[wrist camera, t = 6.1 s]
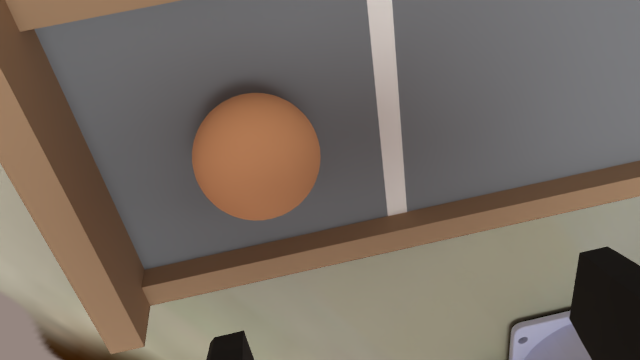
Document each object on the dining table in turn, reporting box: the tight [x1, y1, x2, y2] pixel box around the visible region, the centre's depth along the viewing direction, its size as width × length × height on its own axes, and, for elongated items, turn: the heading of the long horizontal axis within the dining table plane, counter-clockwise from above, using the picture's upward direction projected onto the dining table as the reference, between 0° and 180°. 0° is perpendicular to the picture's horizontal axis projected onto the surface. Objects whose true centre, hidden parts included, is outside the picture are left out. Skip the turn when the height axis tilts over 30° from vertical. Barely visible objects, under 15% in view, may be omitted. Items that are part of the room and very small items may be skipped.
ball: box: [192, 93, 321, 221], centre depth 17 cm, size 4×4×4 cm
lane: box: [0, 0, 640, 354], centre depth 18 cm, size 28×12×4 cm, turn 99°
